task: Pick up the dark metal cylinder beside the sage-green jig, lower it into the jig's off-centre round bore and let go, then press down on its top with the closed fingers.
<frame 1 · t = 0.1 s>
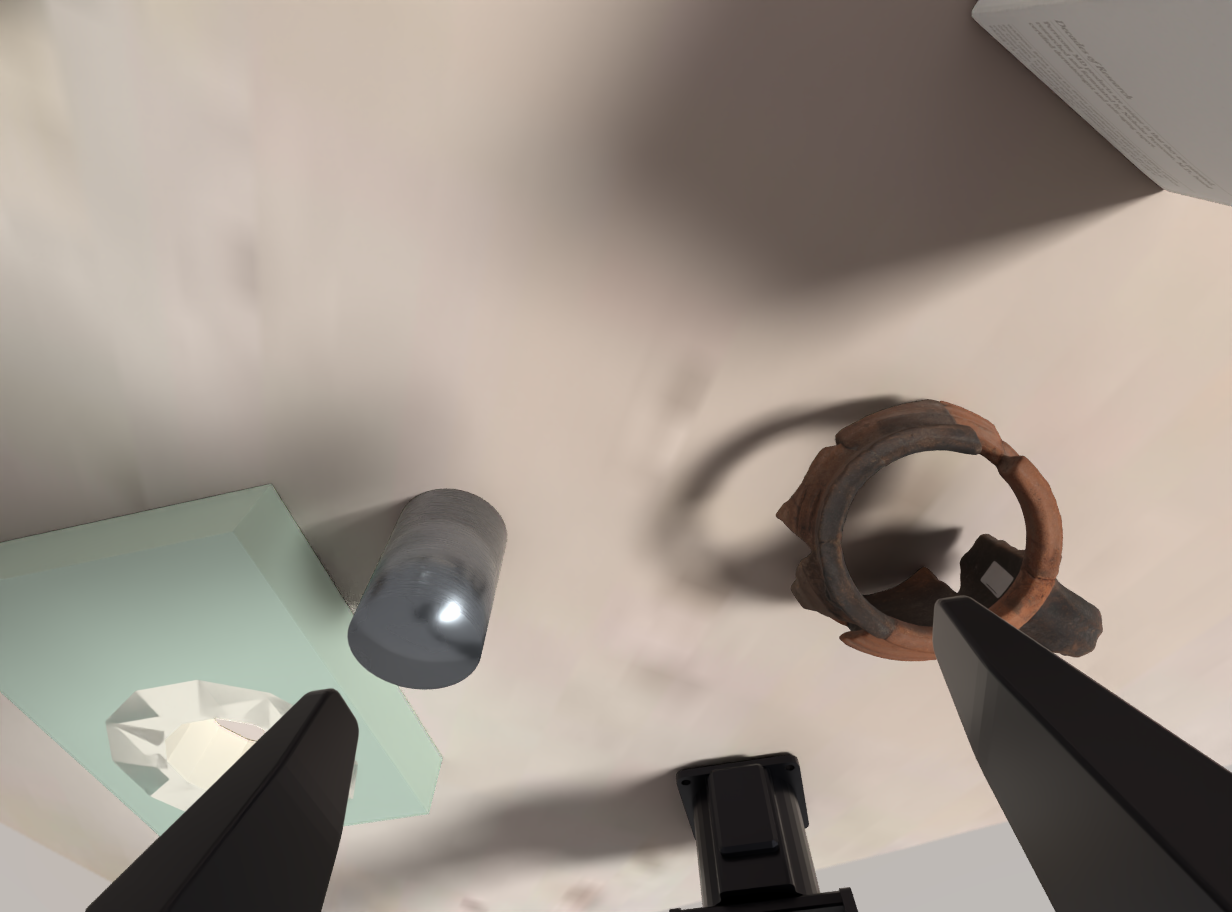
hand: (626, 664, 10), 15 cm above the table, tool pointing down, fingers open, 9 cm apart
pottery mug: (898, 504, 26), on the table
jig: (233, 666, 31), on the table
dark metal cylinder: (453, 532, 27), on the table
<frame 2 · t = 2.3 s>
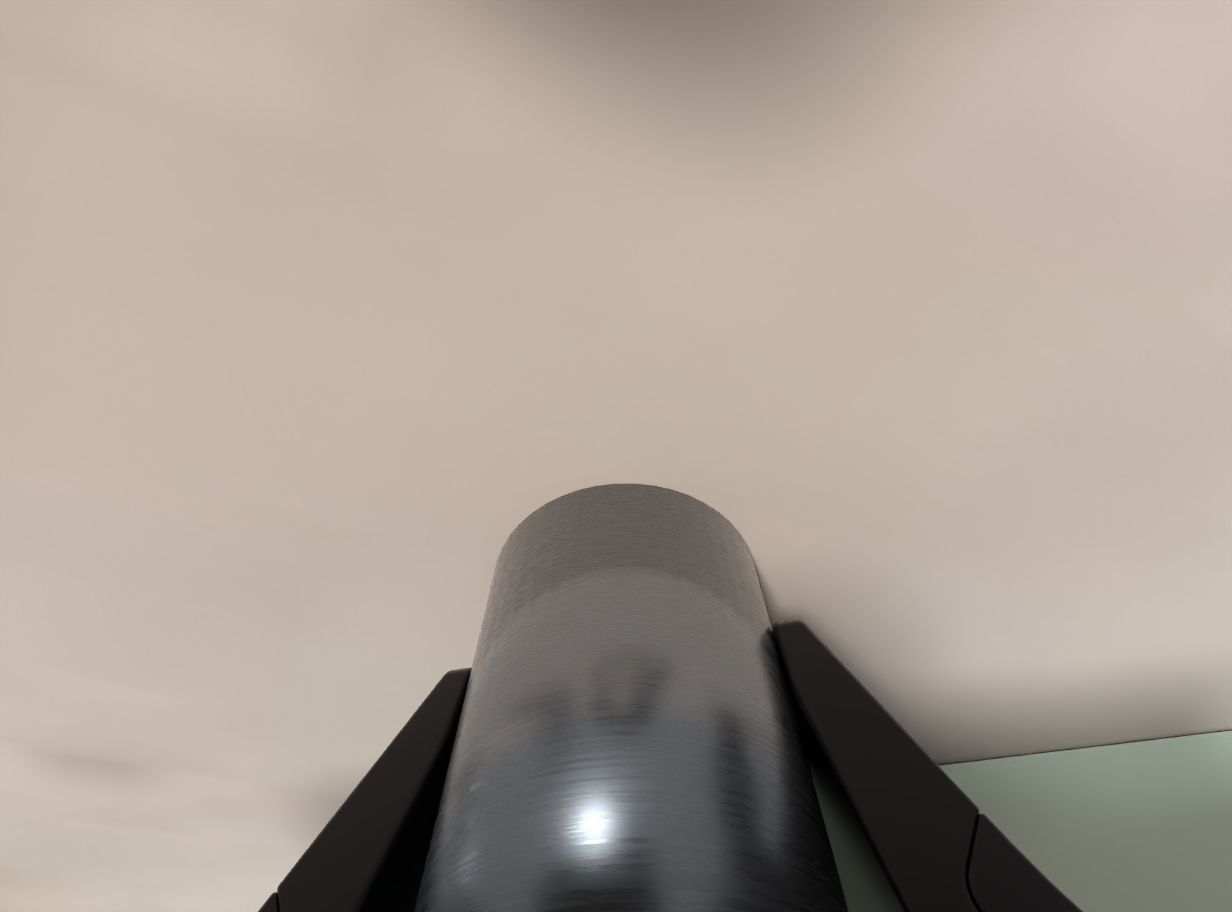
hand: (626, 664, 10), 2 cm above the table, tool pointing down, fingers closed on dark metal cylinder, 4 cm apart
dark metal cylinder: (625, 592, 11), on the table, touching gripper
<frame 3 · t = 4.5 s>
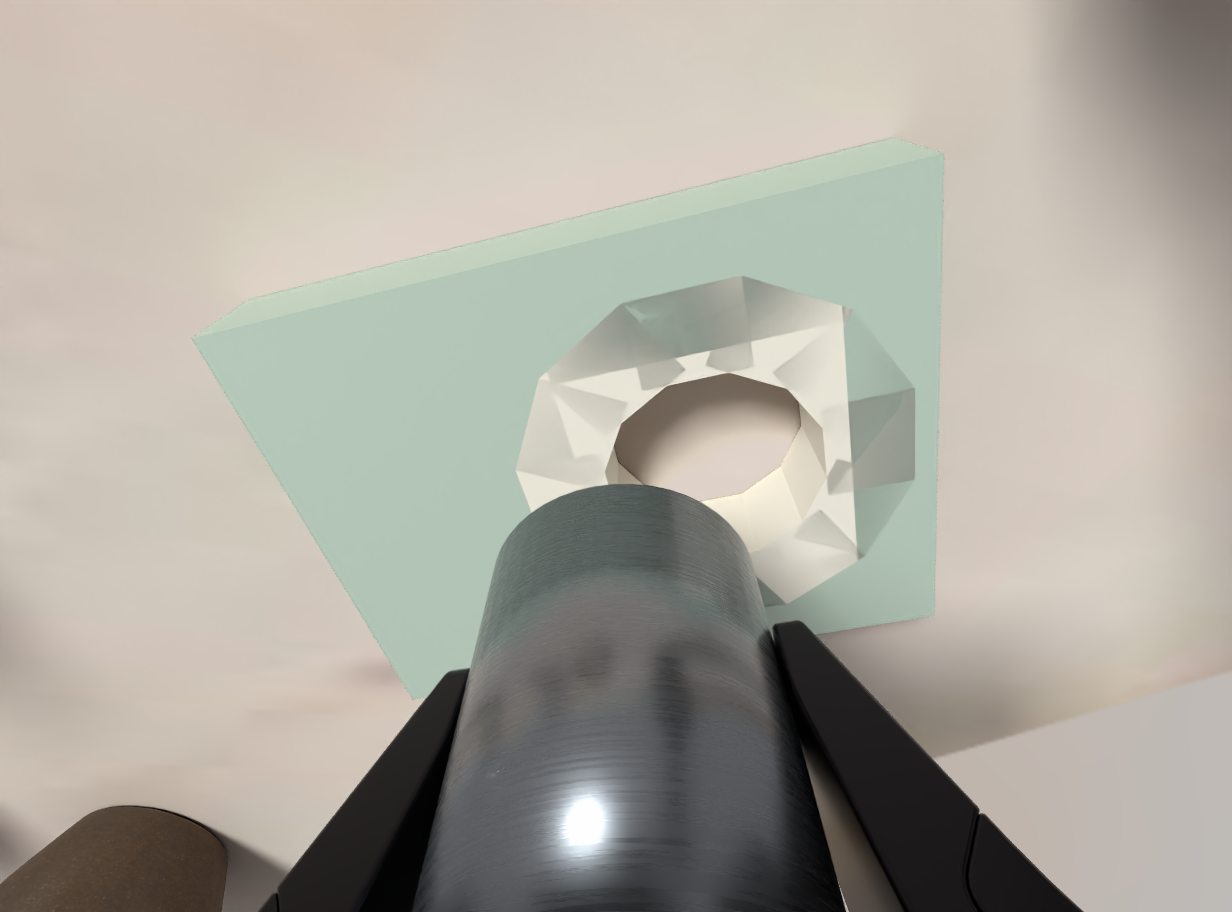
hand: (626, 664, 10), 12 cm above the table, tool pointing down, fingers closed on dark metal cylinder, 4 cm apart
jig: (612, 441, 21), on the table
plant pot: (153, 840, 34), on the table
dark metal cylinder: (623, 592, 11), point 10 cm above the table, touching gripper
when the fingers open (4 cm above the table, at t = 6.6 s): dark metal cylinder drops 2 cm, resting in jig.
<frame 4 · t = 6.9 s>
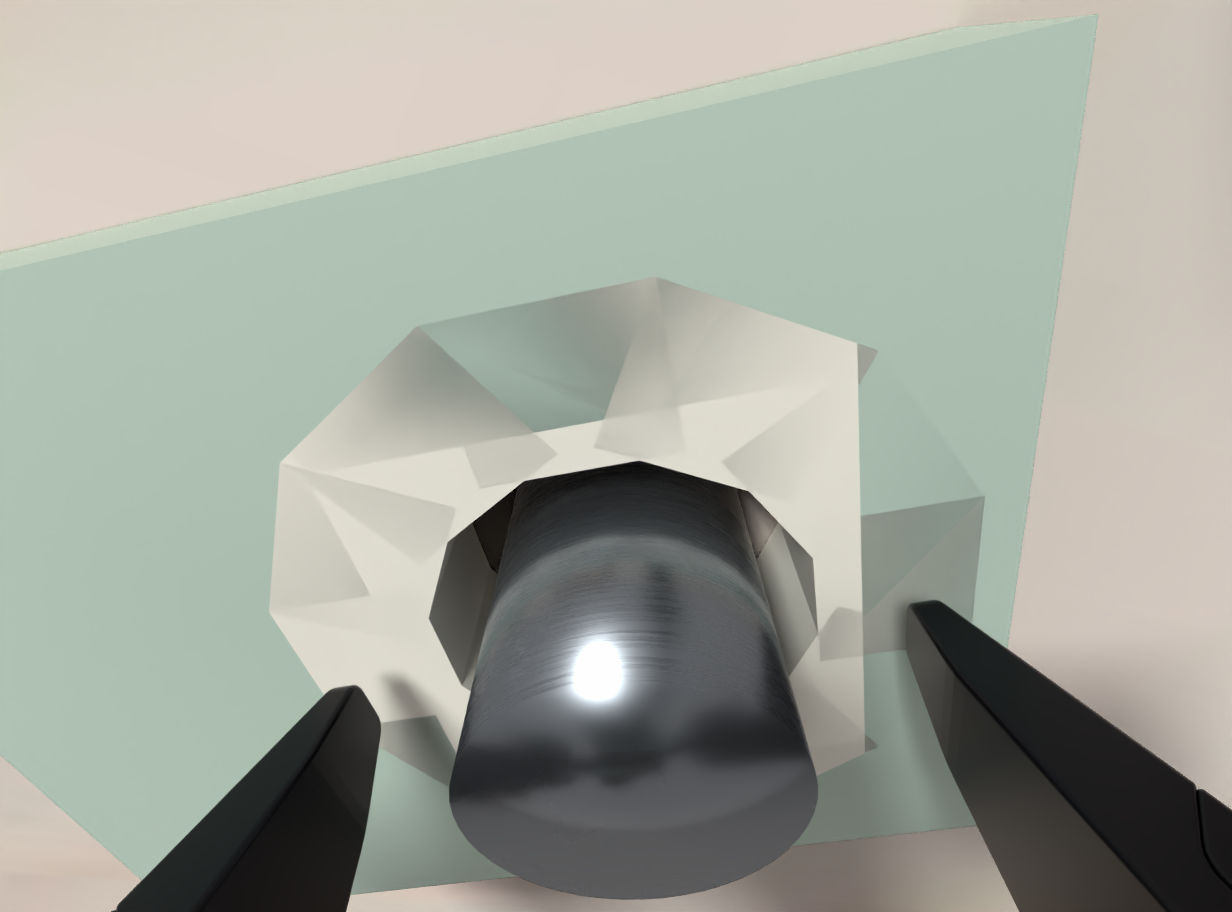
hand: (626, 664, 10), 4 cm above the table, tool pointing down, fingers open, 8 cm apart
jig: (478, 538, 13), on the table
dark metal cylinder: (626, 512, 13), resting in jig
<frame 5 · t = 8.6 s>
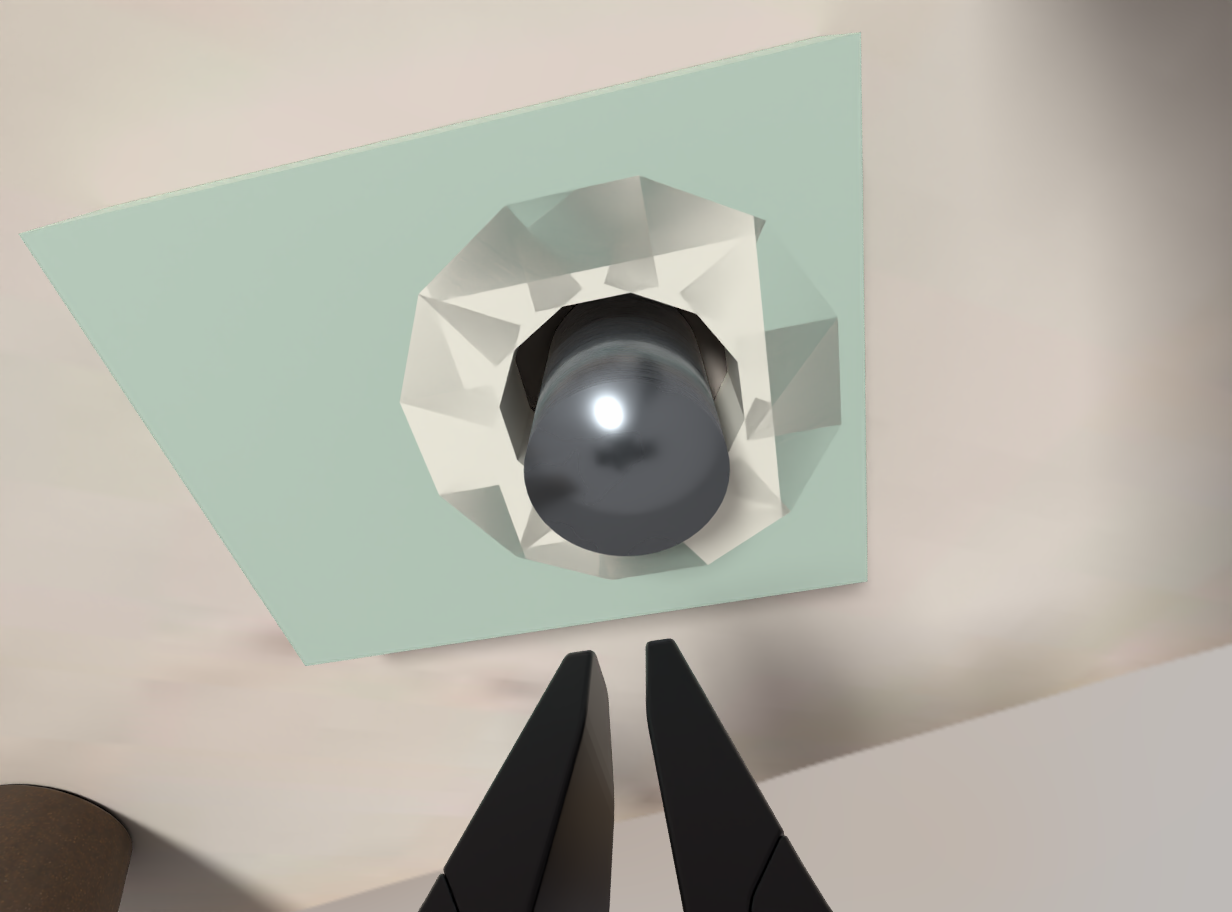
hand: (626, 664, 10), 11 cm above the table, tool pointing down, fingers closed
jig: (522, 384, 19), on the table
plant pot: (52, 822, 32), on the table
dark metal cylinder: (623, 364, 19), resting in jig
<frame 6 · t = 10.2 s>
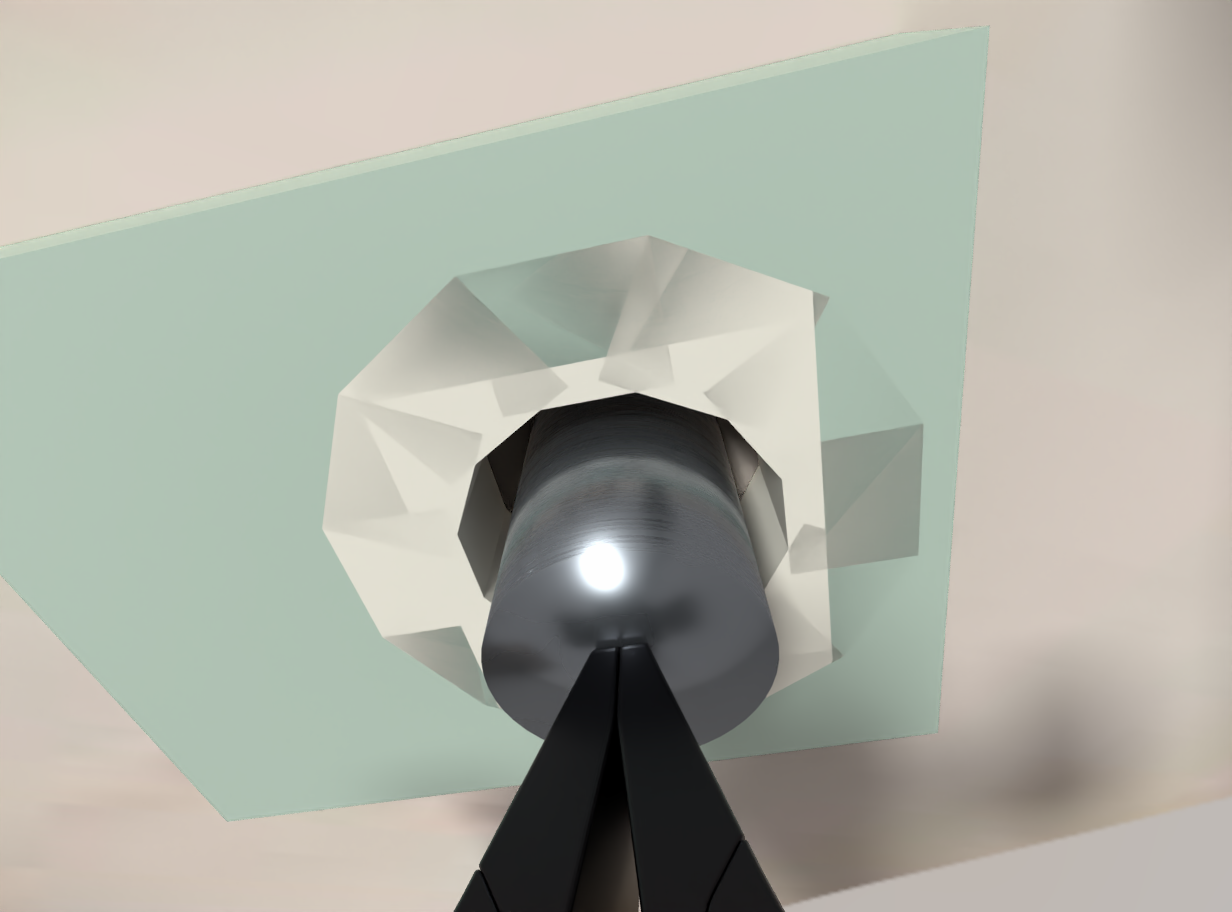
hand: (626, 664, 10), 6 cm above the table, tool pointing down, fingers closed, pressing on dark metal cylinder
jig: (495, 480, 15), on the table
dark metal cylinder: (625, 456, 15), resting in jig, touching gripper
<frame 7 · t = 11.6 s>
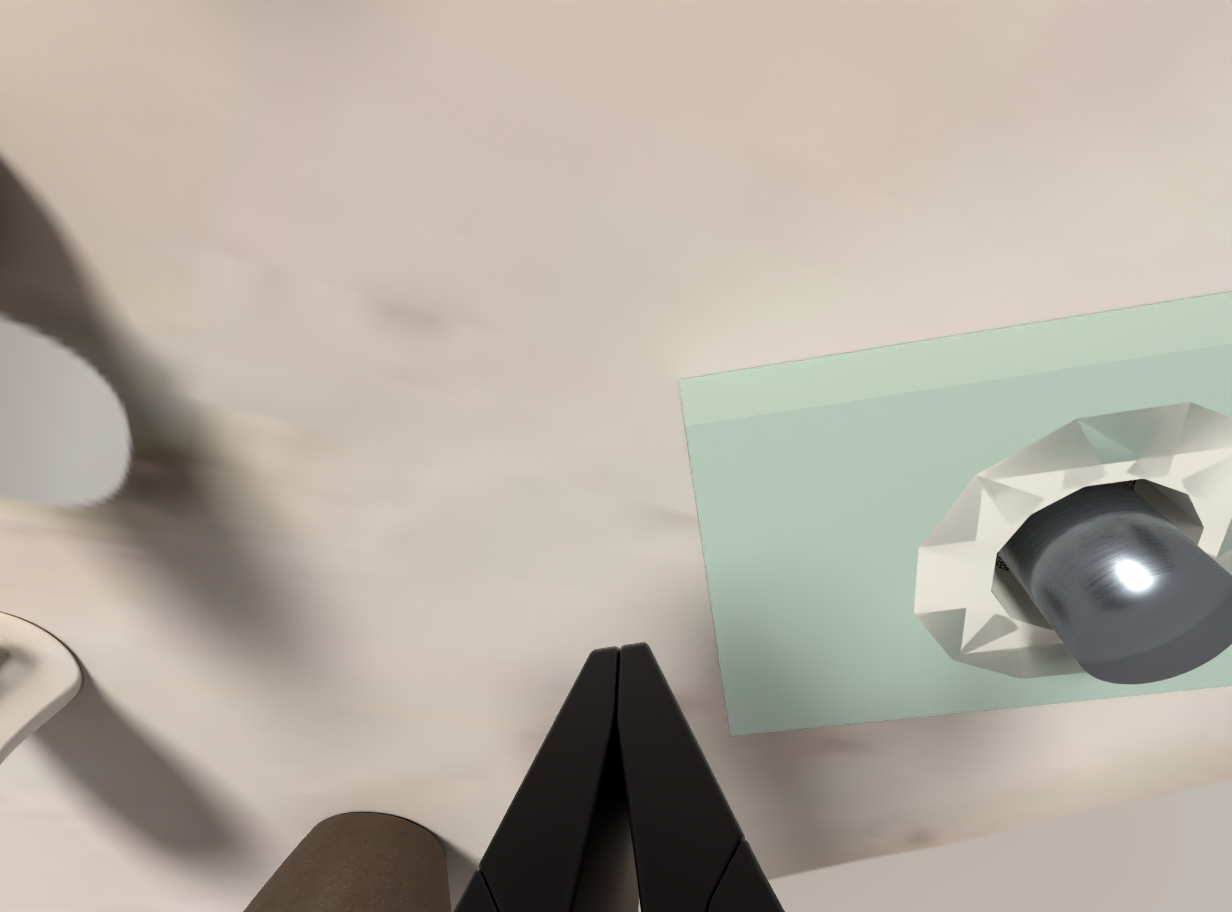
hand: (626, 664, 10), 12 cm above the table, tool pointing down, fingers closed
jig: (953, 515, 23), on the table
plant pot: (375, 843, 36), on the table
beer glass: (11, 654, 28), on the table
dark metal cylinder: (1043, 502, 23), resting in jig
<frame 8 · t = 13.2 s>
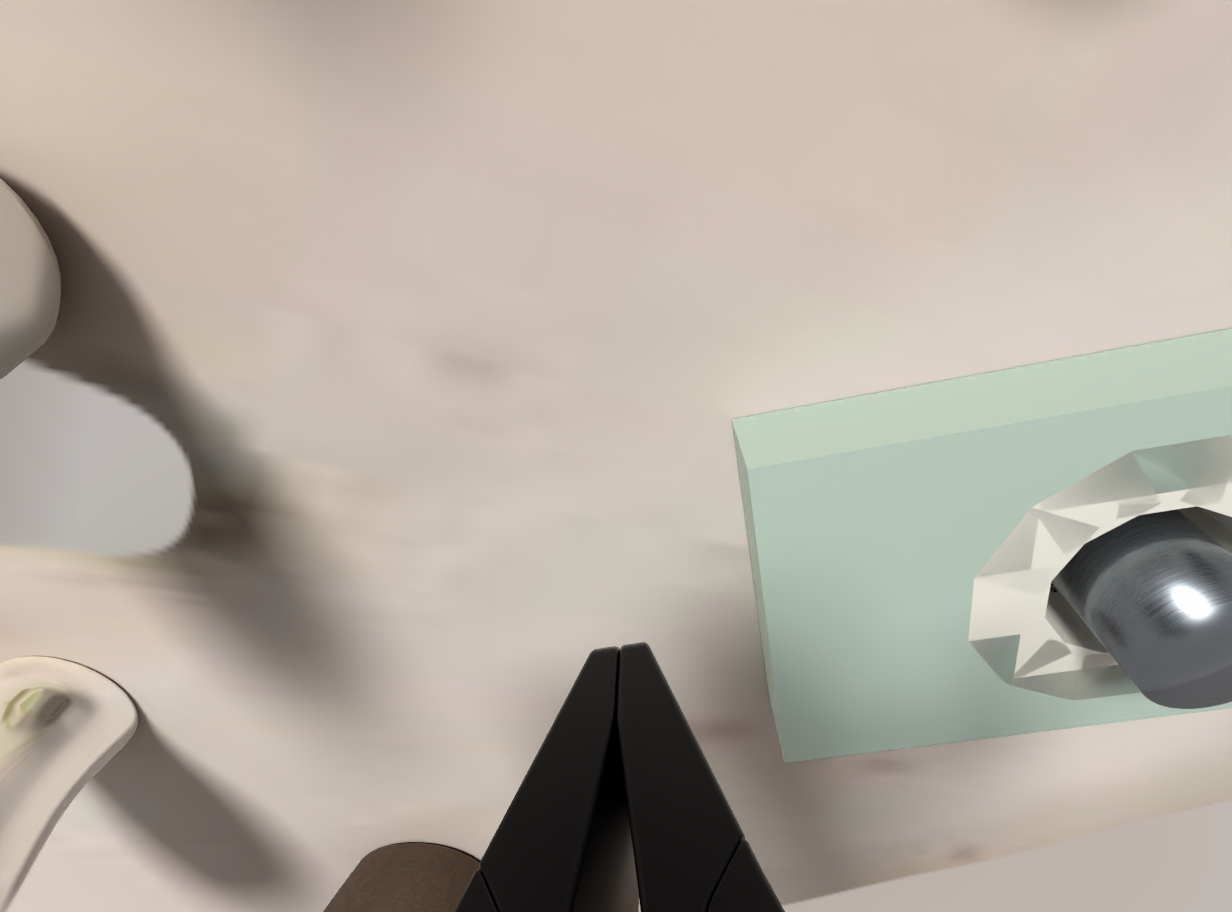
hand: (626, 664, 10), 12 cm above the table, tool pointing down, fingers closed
jig: (1001, 541, 24), on the table
plant pot: (423, 872, 36), on the table
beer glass: (69, 698, 29), on the table
dark metal cylinder: (1090, 526, 23), resting in jig
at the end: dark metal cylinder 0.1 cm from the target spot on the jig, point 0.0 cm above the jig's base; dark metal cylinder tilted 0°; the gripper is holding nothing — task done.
